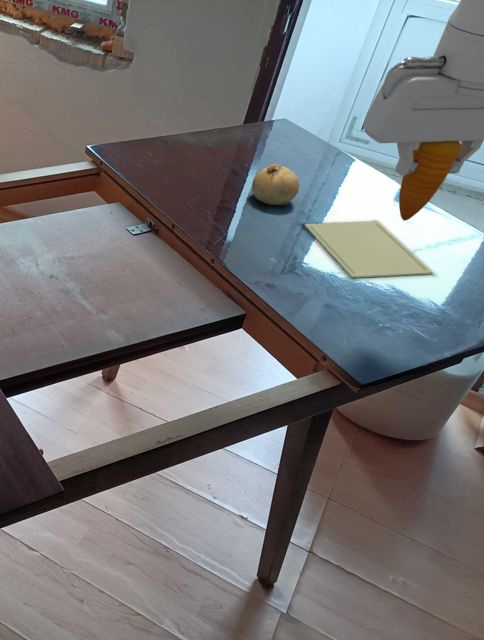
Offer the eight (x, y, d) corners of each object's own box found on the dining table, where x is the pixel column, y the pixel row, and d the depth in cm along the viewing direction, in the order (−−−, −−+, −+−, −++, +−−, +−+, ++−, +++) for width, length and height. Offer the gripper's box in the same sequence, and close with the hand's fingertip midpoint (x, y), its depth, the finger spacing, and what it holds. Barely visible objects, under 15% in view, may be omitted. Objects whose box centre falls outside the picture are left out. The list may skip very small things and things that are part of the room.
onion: (262, 186, 130) (273, 150, 125) (301, 201, 126) (313, 165, 121) (240, 199, 125) (251, 163, 120) (280, 216, 121) (292, 179, 116)
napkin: (431, 273, 109) (432, 272, 109) (351, 278, 107) (352, 276, 107) (376, 222, 121) (377, 221, 121) (303, 225, 119) (304, 223, 119)
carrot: (375, 214, 90) (423, 100, 80) (403, 208, 91) (453, 95, 82) (405, 232, 86) (459, 115, 77) (433, 226, 88) (489, 110, 78)
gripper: (411, 66, 72) (363, 187, 81) (580, 64, 75) (515, 181, 84) (378, 48, 77) (336, 164, 85) (537, 46, 80) (481, 159, 89)
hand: (426, 172), depth 85 cm, fingers closed on carrot, 5 cm apart
